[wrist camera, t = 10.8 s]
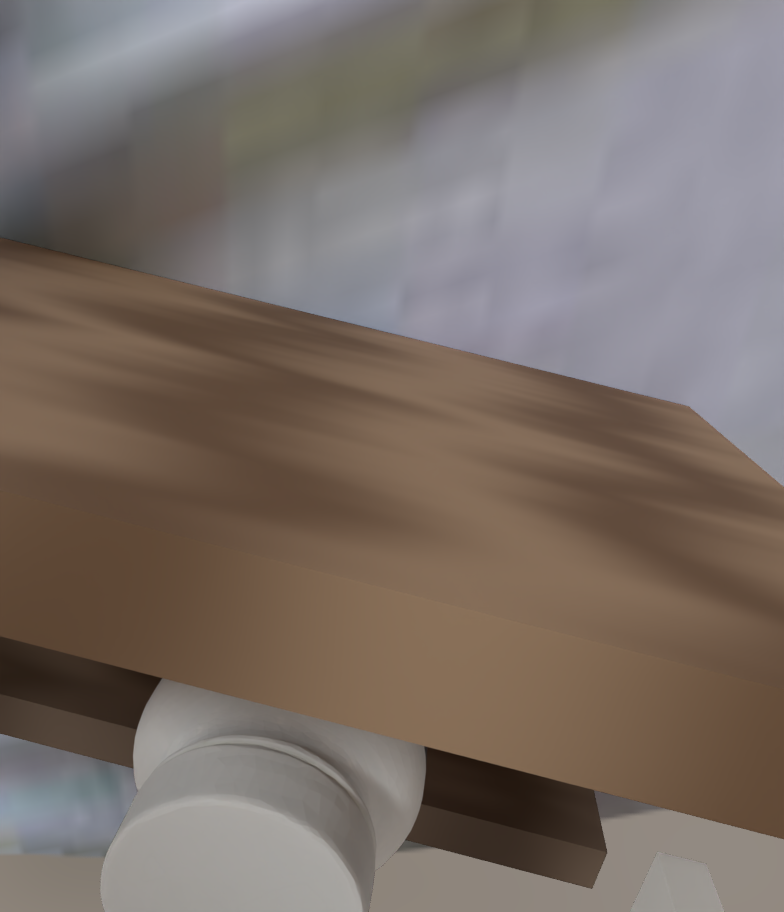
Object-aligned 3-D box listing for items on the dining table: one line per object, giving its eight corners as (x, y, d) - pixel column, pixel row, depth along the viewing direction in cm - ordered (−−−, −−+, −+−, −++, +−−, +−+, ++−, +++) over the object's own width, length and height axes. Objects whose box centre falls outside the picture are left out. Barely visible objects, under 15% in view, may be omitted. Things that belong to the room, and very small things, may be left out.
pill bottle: (342, 711, 21) (243, 1094, 12) (202, 585, 20) (-21, 890, 11) (482, 598, 20) (494, 936, 10) (337, 456, 19) (209, 686, 10)
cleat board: (-35, 586, 24) (-657, 1037, 11) (-20, 233, 20) (-922, 255, 7) (564, 740, 24) (687, 1411, 10) (688, 406, 20) (1124, 775, 7)
